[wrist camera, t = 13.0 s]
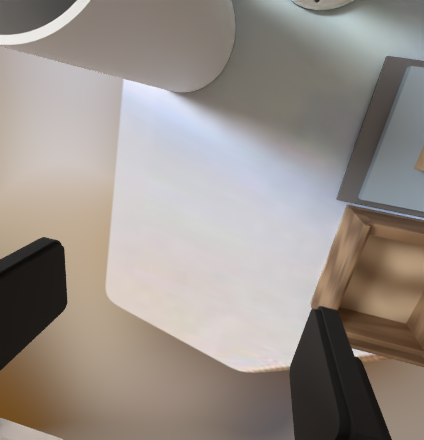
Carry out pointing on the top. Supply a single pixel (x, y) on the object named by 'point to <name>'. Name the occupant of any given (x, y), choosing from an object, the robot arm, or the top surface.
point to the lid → (400, 150)
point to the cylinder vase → (127, 37)
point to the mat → (375, 133)
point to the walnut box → (377, 283)
